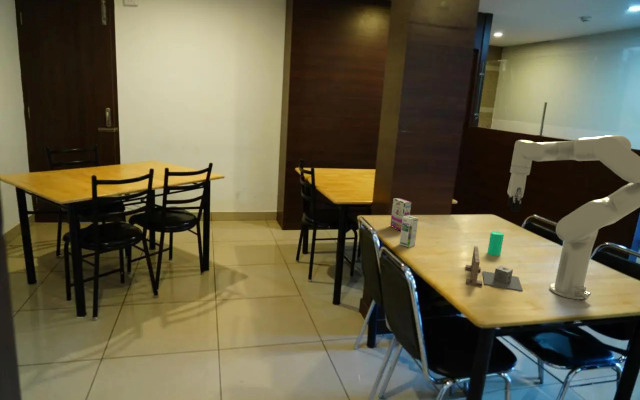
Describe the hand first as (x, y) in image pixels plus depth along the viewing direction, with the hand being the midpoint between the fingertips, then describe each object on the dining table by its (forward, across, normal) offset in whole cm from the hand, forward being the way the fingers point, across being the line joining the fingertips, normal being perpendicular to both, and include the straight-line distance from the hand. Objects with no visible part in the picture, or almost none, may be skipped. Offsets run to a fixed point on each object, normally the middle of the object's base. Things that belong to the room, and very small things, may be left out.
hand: (513, 209), depth 182 cm
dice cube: (+26, +17, -2) cm, 31 cm away
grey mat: (+27, +17, -2) cm, 32 cm away
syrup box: (+28, -13, -43) cm, 52 cm away
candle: (+27, -19, -1) cm, 33 cm away
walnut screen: (+27, +16, -13) cm, 34 cm away
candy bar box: (+28, -40, -49) cm, 69 cm away
